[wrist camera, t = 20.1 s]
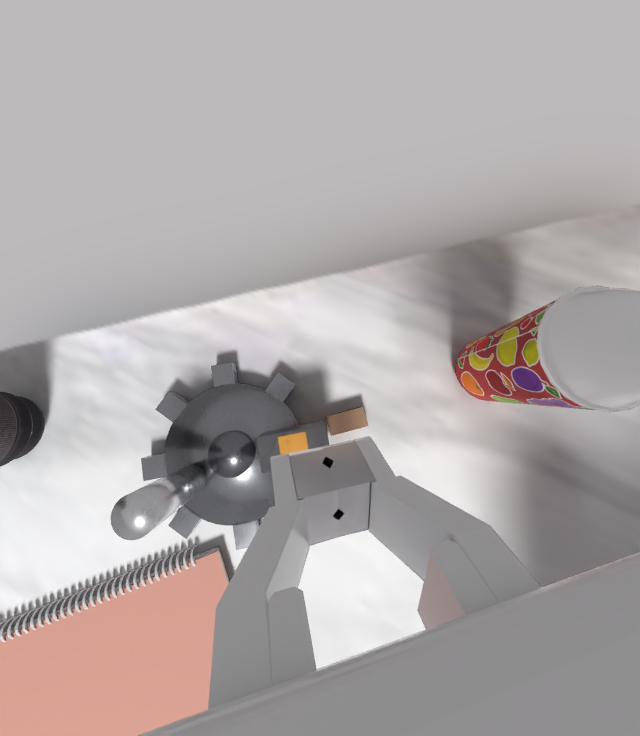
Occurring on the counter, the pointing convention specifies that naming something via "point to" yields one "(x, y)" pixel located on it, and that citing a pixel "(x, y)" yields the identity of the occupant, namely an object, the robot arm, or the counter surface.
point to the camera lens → (18, 427)
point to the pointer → (346, 421)
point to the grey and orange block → (290, 441)
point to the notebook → (115, 654)
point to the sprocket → (210, 460)
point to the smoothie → (562, 354)
